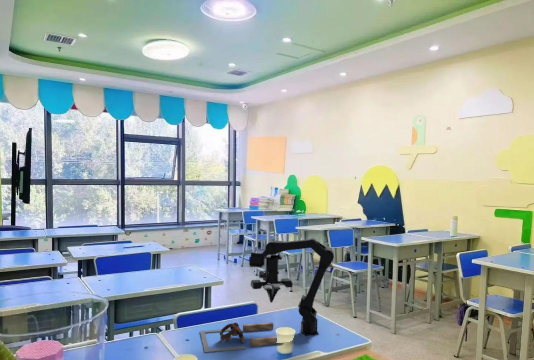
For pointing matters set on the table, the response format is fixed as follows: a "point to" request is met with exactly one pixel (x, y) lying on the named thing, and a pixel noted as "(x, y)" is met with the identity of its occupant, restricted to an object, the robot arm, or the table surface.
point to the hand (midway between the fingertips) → (271, 302)
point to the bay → (207, 350)
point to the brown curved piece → (231, 332)
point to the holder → (260, 340)
